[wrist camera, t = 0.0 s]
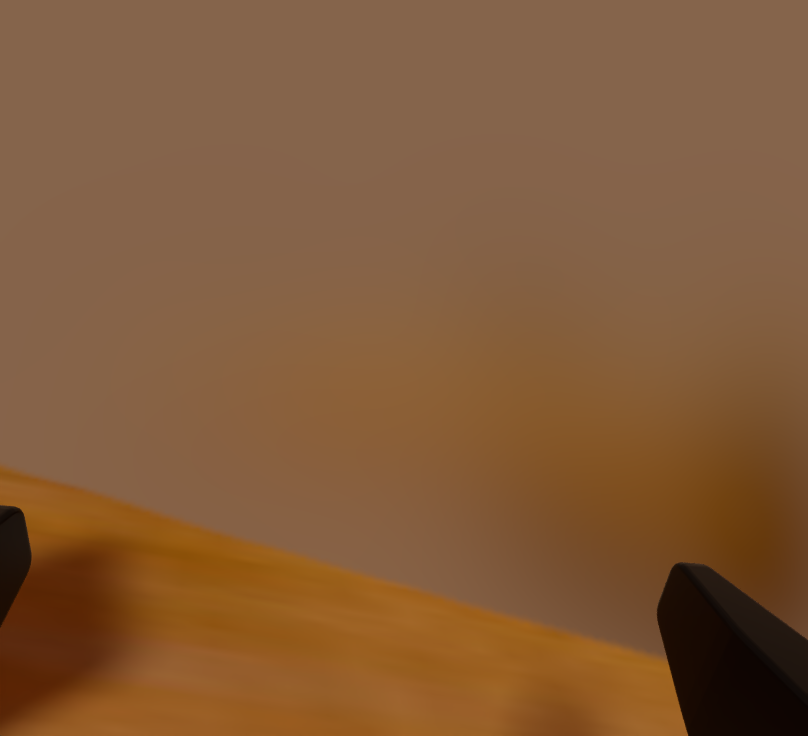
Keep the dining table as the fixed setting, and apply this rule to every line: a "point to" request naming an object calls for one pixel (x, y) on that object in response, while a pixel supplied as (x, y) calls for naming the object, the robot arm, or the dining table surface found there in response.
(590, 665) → the dining table surface
